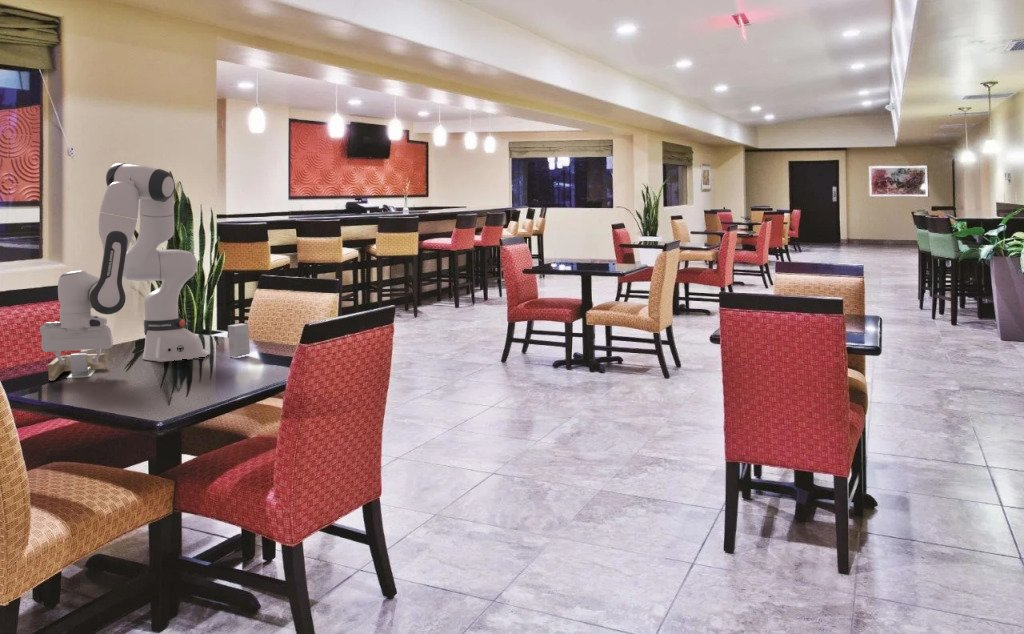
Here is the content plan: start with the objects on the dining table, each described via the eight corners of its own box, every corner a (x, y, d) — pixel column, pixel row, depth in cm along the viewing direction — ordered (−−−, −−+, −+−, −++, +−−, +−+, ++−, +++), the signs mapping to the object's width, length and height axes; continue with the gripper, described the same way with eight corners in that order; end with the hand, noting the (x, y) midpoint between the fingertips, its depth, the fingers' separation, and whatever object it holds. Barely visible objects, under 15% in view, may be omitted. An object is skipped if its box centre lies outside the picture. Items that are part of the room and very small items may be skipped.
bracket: (87, 375, 257) (85, 354, 256) (71, 376, 256) (70, 355, 255) (91, 370, 265) (89, 350, 264) (76, 371, 263) (75, 350, 262)
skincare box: (242, 355, 294) (241, 323, 292) (250, 356, 291) (248, 324, 290) (228, 357, 289) (227, 325, 287) (236, 359, 286) (234, 326, 285)
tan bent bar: (106, 368, 270) (105, 353, 270) (98, 377, 255) (97, 362, 255) (59, 370, 266) (58, 355, 265) (48, 380, 251) (47, 365, 250)
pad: (95, 370, 267) (95, 369, 267) (90, 376, 256) (90, 376, 256) (73, 371, 264) (73, 370, 264) (67, 378, 254) (66, 377, 254)
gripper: (36, 324, 249) (40, 367, 251) (109, 321, 255) (112, 363, 257) (41, 321, 255) (44, 363, 257) (112, 318, 261) (115, 359, 263)
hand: (79, 363), depth 257 cm, fingers open, 8 cm apart
